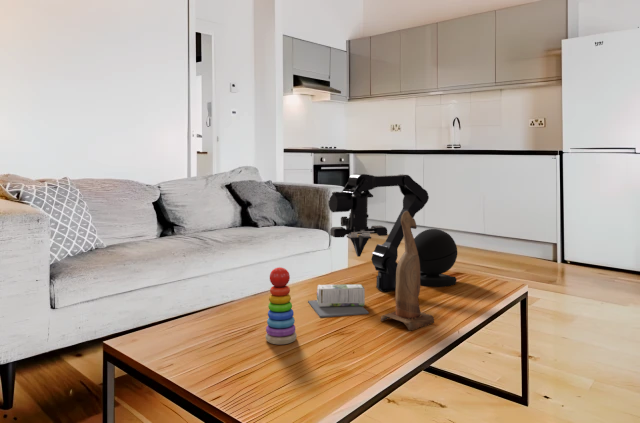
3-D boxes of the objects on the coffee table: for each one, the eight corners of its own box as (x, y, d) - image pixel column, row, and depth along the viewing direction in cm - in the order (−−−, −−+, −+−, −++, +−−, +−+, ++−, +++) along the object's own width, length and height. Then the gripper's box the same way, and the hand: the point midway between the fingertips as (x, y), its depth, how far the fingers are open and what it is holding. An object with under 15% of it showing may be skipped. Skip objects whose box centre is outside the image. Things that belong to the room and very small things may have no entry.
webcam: (465, 284, 182) (467, 230, 180) (426, 289, 176) (428, 233, 174) (437, 274, 198) (438, 225, 196) (400, 278, 192) (401, 227, 190)
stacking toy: (301, 336, 128) (301, 265, 126) (289, 347, 121) (289, 272, 119) (273, 333, 131) (272, 263, 129) (260, 343, 123) (259, 270, 121)
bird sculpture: (436, 324, 139) (440, 211, 137) (410, 332, 131) (414, 213, 129) (404, 315, 148) (408, 208, 145) (378, 322, 140) (381, 210, 137)
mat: (352, 299, 163) (352, 297, 163) (368, 313, 147) (368, 312, 147) (308, 302, 159) (308, 300, 159) (320, 317, 144) (320, 315, 144)
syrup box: (361, 301, 159) (316, 302, 157) (361, 283, 158) (316, 284, 157) (365, 306, 153) (318, 307, 151) (365, 287, 152) (318, 288, 151)
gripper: (376, 208, 176) (376, 250, 178) (326, 209, 172) (326, 253, 174) (388, 211, 166) (387, 256, 167) (334, 212, 161) (334, 259, 163)
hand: (358, 256), depth 168 cm, fingers closed
